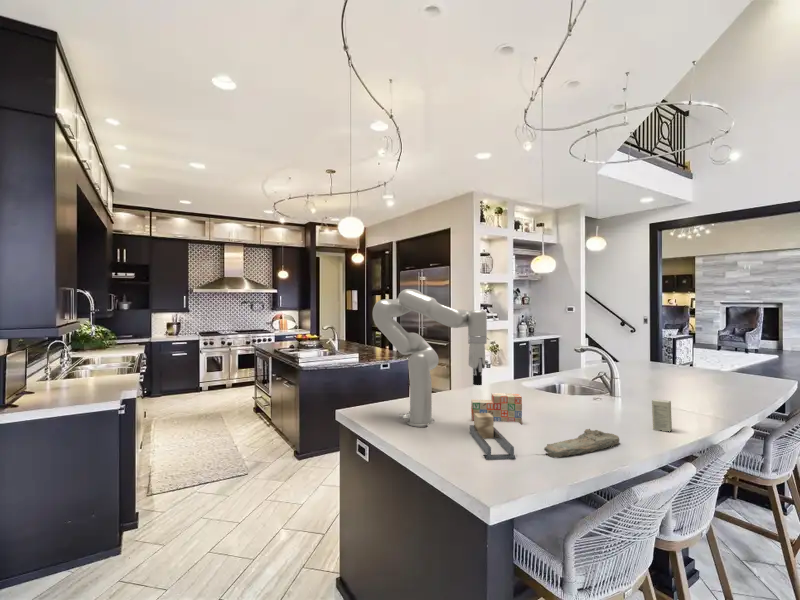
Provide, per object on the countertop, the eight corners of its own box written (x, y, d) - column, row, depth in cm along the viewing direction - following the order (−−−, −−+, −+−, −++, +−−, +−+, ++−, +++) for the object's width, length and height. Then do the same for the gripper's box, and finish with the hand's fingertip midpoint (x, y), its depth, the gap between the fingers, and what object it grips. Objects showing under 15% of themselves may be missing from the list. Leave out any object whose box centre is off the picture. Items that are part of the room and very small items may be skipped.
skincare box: (672, 430, 170) (671, 400, 170) (670, 432, 167) (669, 402, 167) (654, 427, 174) (654, 398, 175) (651, 429, 171) (651, 400, 171)
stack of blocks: (472, 423, 180) (472, 395, 181) (471, 419, 187) (471, 392, 187) (522, 424, 178) (522, 396, 179) (519, 420, 185) (519, 393, 185)
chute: (486, 459, 137) (486, 447, 138) (468, 435, 163) (468, 425, 163) (515, 459, 138) (515, 447, 138) (493, 434, 164) (493, 424, 164)
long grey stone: (536, 455, 146) (558, 467, 137) (536, 441, 145) (558, 451, 136) (603, 436, 161) (626, 445, 152) (603, 423, 161) (627, 431, 152)
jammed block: (478, 438, 156) (477, 417, 156) (474, 433, 162) (474, 413, 162) (493, 438, 157) (493, 417, 157) (489, 433, 163) (489, 412, 163)
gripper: (464, 338, 177) (464, 381, 176) (472, 341, 162) (472, 388, 161) (481, 338, 177) (481, 381, 177) (491, 341, 162) (491, 388, 162)
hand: (477, 384), depth 169 cm, fingers closed
